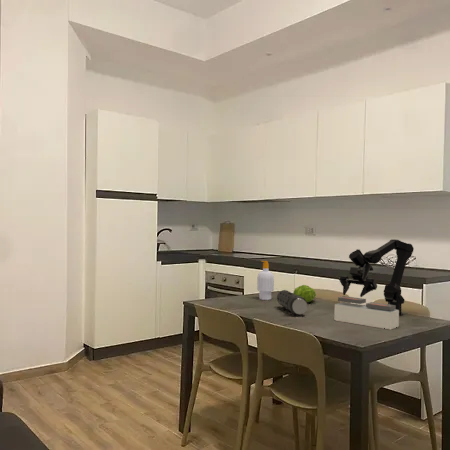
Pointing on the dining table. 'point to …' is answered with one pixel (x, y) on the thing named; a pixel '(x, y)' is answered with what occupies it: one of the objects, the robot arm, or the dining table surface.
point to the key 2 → (380, 306)
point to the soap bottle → (265, 282)
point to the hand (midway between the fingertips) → (352, 295)
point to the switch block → (366, 315)
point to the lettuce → (305, 292)
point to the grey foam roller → (292, 302)
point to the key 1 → (351, 300)
